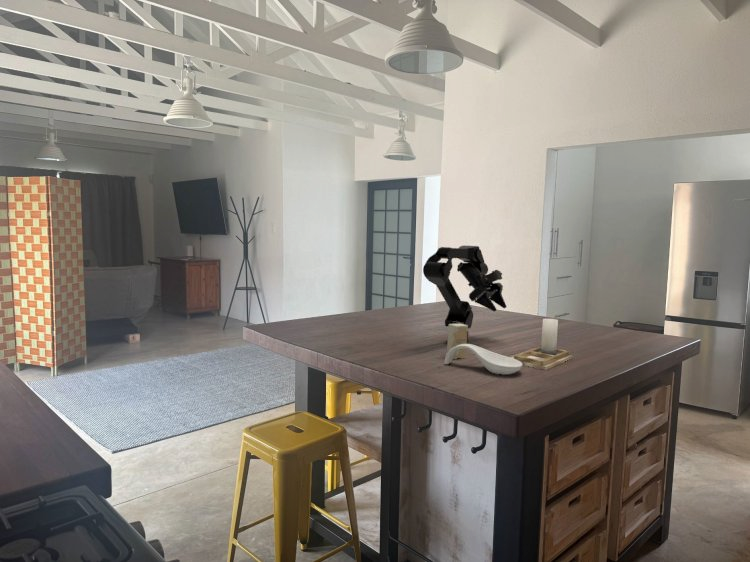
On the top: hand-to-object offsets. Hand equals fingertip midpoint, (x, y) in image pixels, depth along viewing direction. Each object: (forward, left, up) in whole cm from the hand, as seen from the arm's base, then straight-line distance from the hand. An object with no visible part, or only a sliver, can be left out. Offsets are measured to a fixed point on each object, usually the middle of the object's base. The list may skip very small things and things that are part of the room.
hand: (500, 309), depth 194 cm
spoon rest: (-23, -28, -14) cm, 38 cm away
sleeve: (+6, -21, -12) cm, 25 cm away
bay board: (+2, -22, -14) cm, 26 cm away
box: (-24, -13, -14) cm, 30 cm away
